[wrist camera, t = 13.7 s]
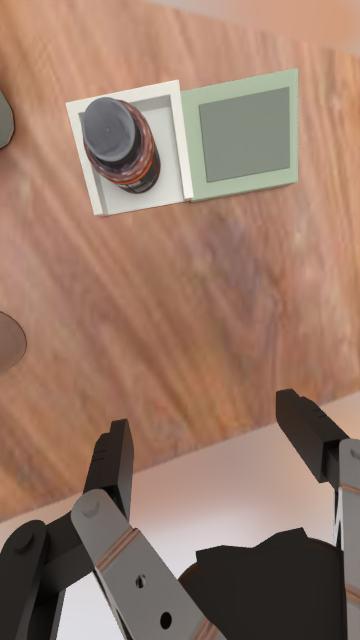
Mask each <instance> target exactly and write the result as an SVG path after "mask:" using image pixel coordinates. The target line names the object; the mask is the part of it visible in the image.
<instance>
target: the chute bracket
mask: <svg viewBox="0 0 360 640" xmlns="http://www.w3.org/2000/svg"><path fill="white" fill-rule="evenodd" d="M102 97H110V98H114V99H119V100H123V101H125V102H128V103H130V104H131V105H133V106H134V107H136V108H137V109H138V110H139V111H140V112H141V113H142V115H143V116H144V117H145V119H146V121H147V122H148V124H149V127H150V129H151V132H152V135H153V138H154V141H155V144H156V147H157V150H158V153H159V157H160V163H161V169H160V174H159V178H158V180H157V182H156V183H155V185H154V186H153V187H152V188H151V189H150V190H148V191H146V192H144V193H140V194H133V193H129V192H127V191H124V190H123V189H121V188H120V187H118V186H117V185H115V184H114V183H112V182H111V181H109V180H107V179H106V178H105V177H103V176H102V175H100V174H99V173H98V172H97V171H96V170H95V169H94V167H93V166H92V164H91V163H90V161H89V159H88V157H87V155H86V152H85V149H84V144H83V134H82V119H83V115H84V112H85V110H86V108H87V107H88V106H89V104H90V103H91V102H93V101H94V100H96V99H98V98H102ZM66 107H67V111H68V115H69V119H70V123H71V126H72V130H73V134H74V138H75V142H76V146H77V150H78V153H79V157H80V161H81V165H82V169H83V173H84V177H85V180H86V184H87V188H88V192H89V196H90V200H91V204H92V208H93V211H94V215H97V216H108V215H114V214H119V213H125V212H130V211H136V210H141V209H147V208H153V207H158V206H164V205H169V204H175V203H181V202H186V201H190V200H191V198H194V196H193V188H192V181H191V173H190V165H189V157H188V150H187V142H186V134H185V126H184V119H183V111H182V103H181V95H180V88H179V80H174V81H169V82H164V83H159V84H154V85H150V86H145V87H140V88H135V89H130V90H125V91H121V92H116V93H111V94H106V95H101V96H96V97H92V98H87V99H82V100H77V101H72V102H67V103H66Z"/></svg>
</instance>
